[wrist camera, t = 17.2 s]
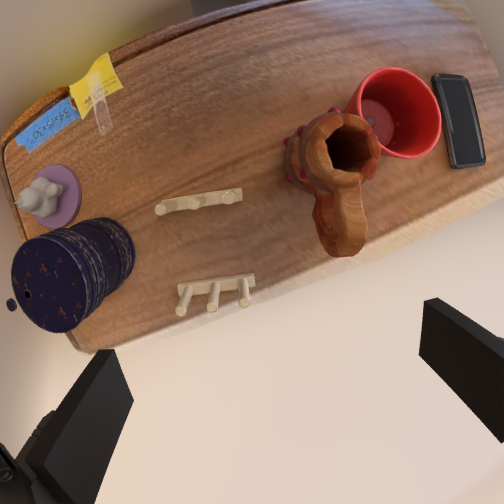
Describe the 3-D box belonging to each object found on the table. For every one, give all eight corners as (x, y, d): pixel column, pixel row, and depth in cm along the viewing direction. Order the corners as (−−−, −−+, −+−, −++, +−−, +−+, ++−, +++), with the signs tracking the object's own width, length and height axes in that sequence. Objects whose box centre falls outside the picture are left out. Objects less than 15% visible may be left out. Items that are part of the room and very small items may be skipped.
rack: (163, 199, 38) (144, 204, 30) (241, 187, 38) (242, 188, 30) (180, 294, 41) (168, 319, 33) (254, 283, 41) (259, 307, 33)
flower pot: (332, 80, 36) (358, 54, 26) (403, 98, 36) (441, 82, 27) (327, 155, 38) (354, 147, 28) (400, 169, 39) (440, 168, 29)
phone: (467, 76, 34) (487, 165, 38) (463, 77, 36) (482, 165, 39) (433, 73, 34) (455, 169, 38) (429, 75, 36) (450, 169, 39)
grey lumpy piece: (31, 187, 35) (-3, 191, 28) (64, 168, 35) (31, 166, 28) (41, 222, 37) (8, 231, 29) (75, 204, 37) (43, 210, 29)
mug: (278, 124, 37) (302, 91, 22) (339, 125, 37) (393, 99, 22) (282, 238, 40) (308, 271, 25) (342, 236, 40) (395, 265, 26)
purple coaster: (29, 173, 36) (25, 173, 35) (77, 157, 36) (73, 157, 35) (38, 232, 38) (34, 233, 37) (86, 221, 38) (83, 222, 37)
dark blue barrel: (121, 205, 38) (46, 225, 20) (147, 275, 40) (93, 337, 23) (64, 231, 38) (-20, 262, 21) (89, 295, 40) (21, 355, 23)
